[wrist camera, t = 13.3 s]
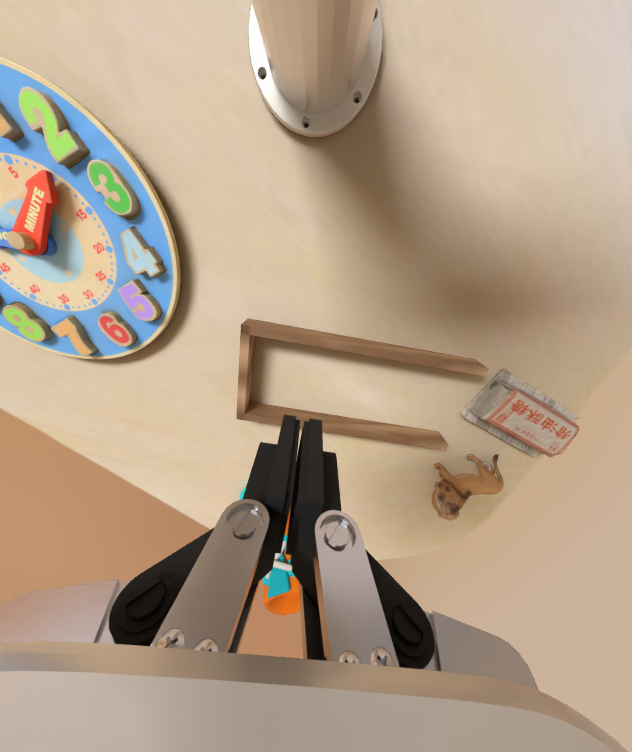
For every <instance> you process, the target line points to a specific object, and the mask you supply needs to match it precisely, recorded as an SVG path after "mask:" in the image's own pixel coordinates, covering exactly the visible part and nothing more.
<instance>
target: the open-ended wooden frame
mask: <svg viewBox="0 0 632 752" xmlns="http://www.w3.org/2000/svg"><path fill="white" fill-rule="evenodd" d="M255 336H259V337H265V338H270V339H276V340H282V341H287V342H293V343H299V344H304V345H310V346H316V347H321V348H327V349H333V350H338V351H344V352H350V353H355V354H361V355H367V356H373V357H378V358H384V359H390V360H395V361H401V362H407V363H412V364H418V365H424V366H429V367H435V368H441V369H446V370H452V371H458V372H463V373H469V374H475V375H480V376H485V375H486V373H487V371H488V370H489V369H488V368H487V367H485V366H484V365H482V364H481V363H479V362H478V361H476V360H475V359H469V358H464V357H458V356H453V355H447V354H442V353H436V352H430V351H425V350H419V349H414V348H408V347H403V346H397V345H392V344H386V343H381V342H375V341H370V340H364V339H358V338H353V337H347V336H342V335H336V334H331V333H325V332H320V331H314V330H309V329H303V328H298V327H292V326H286V325H281V324H275V323H270V322H264V321H259V320H253V319H247V320H246V321H245V322H243V323H242V324H241V337H240V358H239V378H238V398H237V419H240V420H246V421H253V422H260V423H266V424H273V425H280V426H282V421H283V416H284V414H285V415H292V416H296V420H301V421H300V429H303V425H304V421H309V419H310V418H311V419H318V420H322V432H326V433H332V434H339V435H346V436H352V437H359V438H366V439H372V440H379V441H385V442H392V443H399V444H405V445H412V446H418V447H425V448H432V449H438V450H446V448H447V446H448V445H447V443H446V442H445V440H444V439H443V437H442V436H441V434H440V433H439V432H438V431H431V430H425V429H418V428H412V427H406V426H399V425H393V424H387V423H380V422H374V421H367V420H361V419H355V418H348V417H342V416H335V415H329V414H323V413H316V412H310V411H304V410H297V409H291V408H284V407H278V406H272V405H265V404H259V403H252V402H250V396H251V383H252V370H253V356H254V343H255Z"/></svg>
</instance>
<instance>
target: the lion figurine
mask: <svg viewBox="0 0 632 752" xmlns="http://www.w3.org/2000/svg"><path fill="white" fill-rule="evenodd" d="M498 456H499V455H495V456H494V457H493V464H494V468H495V471H496V474H497V477H498V479H497V478H496V477H495V476H494V474H495V471H494V469H493V467H492V465H491V464H490V463H488V462H484V463H483V462H482V461H480V460H479V459H477V458H476V457H475V456H474V455H471V454H469V455H468V456H467V459H468V460H473V461H475V462H476V463H477V464H478V468H479V472H480V476H475V475H470V474H462V475H458V476H455V477H453V476H451V475H450V474H449V473H448V472H447V471H446V469H445V468H444V467H443V466H442V465H441V464H440V463H436V464H435V465H434V466H435V468H436V469H437V468H438V469H439V470H440V474H439V475H440V476H441V477H443V479H442V480H441V481H440V482H437V483H436V485H435V490H434V492H433V495H432V504H433V506H434V508H435V510H436V511H437V513H438V515H439V517H440V518H441V517H443V518H444V519H447V520H453V519H455V518H457V517H458V516H459V510H460V508H462V506H463V504H464V503H465V502H466V500H467V499H468V497H469V496H471V495H475V494H496V493H498V492H499V491H500V490H501V489H502V488H503V485H504V483H503V479H502V476H501V474H500V472H499V469H498V467H497V459H498ZM486 468H488V469H486Z"/></svg>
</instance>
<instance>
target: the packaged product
mask: <svg viewBox="0 0 632 752" xmlns="http://www.w3.org/2000/svg"><path fill="white" fill-rule="evenodd" d="M460 414H461V415H462V417H463V418H464V419H466V420H468V421H470V422H472V423H473V424H475V425H477V426H479V427H481V428H483V429H484V430H486V431H488V432H490V433H491V434H493V435H495V436H497V437H499V438H500V439H502V440H504V441H506V442H508V443H509V444H511V445H513V446H515V447H517V448H518V449H520V450H522V451H524V452H526V453H527V454H529V455H531V456H533V457H535V456H536V455H537V454H539V453H540V452H542V453H543V454H545V455H547V456H548V457H553V456H555V455H559V454H561V453H562V452H564V451H565V450H566V449H567V446H568V445H569V444H570V442H571V441H572V439H573V438H574V437H575V436H576V435H577V433H578V431H579V427H578V425H577V424H576V423H575V422H574V421H575V420H577V419H579V417H578V416H577V415H575V414H574V413H572V412H571V411H569V410H568V409H566V408H565V407H563V406H561V405H560V404H558V403H557V402H555V401H553V400H552V399H550V398H548V397H547V396H546V395H544V394H542V393H541V392H539V391H538V390H536V389H534V388H533V387H531V386H530V385H529V384H527V383H525V382H524V381H522V380H521V379H519V378H517V377H516V376H514V375H512V374H511V373H509V372H508V371H506V370H505V369H502V370H501V371H500V372H499V373H498V374H497V375H496V376H495V377H494V378H493V379H492V380H491V381H490V382H489V383H488V384H487V385H486V386H485V387H484V388H483V389H482V390H481V391H480V392H479V393H478V394H477V396H475V397H474V398H473V399H472V400H471V401H470V402H469V403H468V404H467V405H466V406H465V408H464V409H463V410H462V411H461V412H460Z"/></svg>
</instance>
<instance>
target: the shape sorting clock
mask: <svg viewBox="0 0 632 752" xmlns="http://www.w3.org/2000/svg"><path fill="white" fill-rule="evenodd" d="M180 280H181V272H180V260H179V254H178V248H177V244H176V240H175V236H174V233H173V230H172V227H171V224H170V221H169V219H168V216H167V214H166V212H165V209H164V207H163V205H162V203H161V201H160V199H159V197H158V195H157V193H156V191H155V189H154V188H153V186H152V184H151V182H150V181H149V179H148V178H147V176H146V174H145V173H144V171H143V170H142V168H141V167H140V166H139V164H138V163H137V161H136V160H135V159H134V157H133V156H132V155H131V154H130V152H129V151H128V150H127V149H126V147H125V146H124V145H123V144H122V142H121V141H120V140H119V139H118V138H117V137H116V136H115V135H114V134H113V133H112V131H111V130H110V129H109V128H108V127H107V126H106V125H105V124H104V123H103V122H102V121H100V120H99V119H98V118H97V117H96V116H95V115H94V114H93V113H92V112H91V111H89V110H88V109H87V108H86V107H85V106H83V105H82V104H81V103H80V102H78V101H77V100H76V99H74V98H73V97H72V96H71V95H69V94H68V93H66V92H65V91H63V90H62V89H60V88H59V87H57V86H56V85H54V84H52V83H51V82H49V81H48V80H46V79H44V78H42V77H41V76H39V75H37V74H35V73H34V72H32V71H30V70H28V69H26V68H24V67H22V66H20V65H18V64H15V63H13V62H11V61H8V60H6V59H3V58H0V329H1V330H3V331H5V332H6V333H8V334H10V335H12V336H14V337H16V338H18V339H20V340H22V341H24V342H27V343H29V344H31V345H33V346H36V347H39V348H41V349H44V350H47V351H50V352H53V353H57V354H60V355H65V356H70V357H75V358H84V359H111V358H117V357H122V356H125V355H128V354H131V353H133V352H136V351H138V350H140V349H142V348H143V347H145V346H146V345H148V344H150V343H151V342H152V341H154V340H155V339H156V338H157V337H158V336H159V335H160V334H161V333H162V332H163V331H164V329H165V328H166V327H167V325H168V324H169V322H170V320H171V318H172V316H173V314H174V312H175V309H176V306H177V302H178V298H179V292H180Z"/></svg>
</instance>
